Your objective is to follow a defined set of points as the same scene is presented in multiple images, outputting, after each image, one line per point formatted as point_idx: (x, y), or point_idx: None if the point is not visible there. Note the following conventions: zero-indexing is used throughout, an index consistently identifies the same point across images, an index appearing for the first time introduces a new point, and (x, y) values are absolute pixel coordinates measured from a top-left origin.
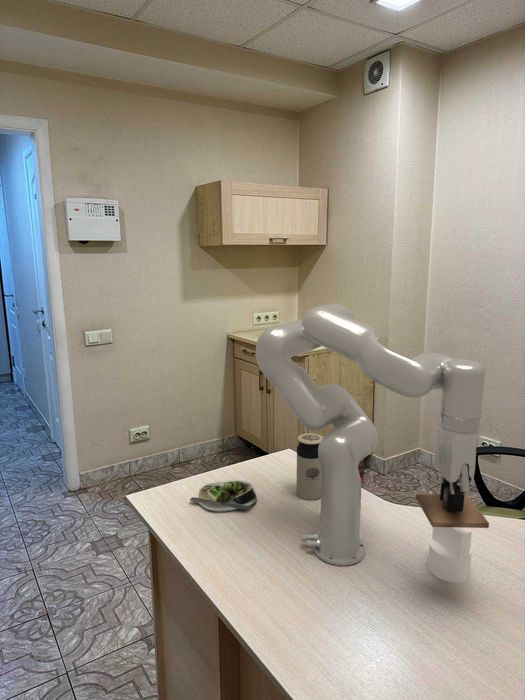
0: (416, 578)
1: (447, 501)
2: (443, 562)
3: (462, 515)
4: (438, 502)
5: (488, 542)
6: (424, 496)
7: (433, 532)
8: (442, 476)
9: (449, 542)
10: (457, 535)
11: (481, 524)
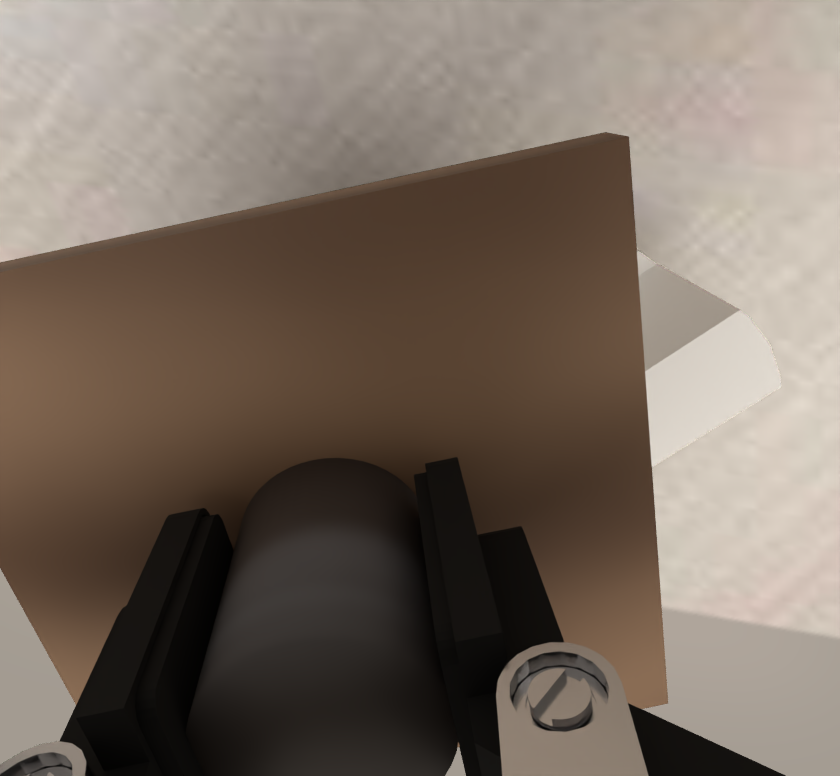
0: (441, 142)
1: (142, 592)
2: None
3: None
4: (437, 421)
5: (766, 514)
6: (573, 255)
7: (670, 278)
8: (567, 750)
9: None
10: None
11: None
